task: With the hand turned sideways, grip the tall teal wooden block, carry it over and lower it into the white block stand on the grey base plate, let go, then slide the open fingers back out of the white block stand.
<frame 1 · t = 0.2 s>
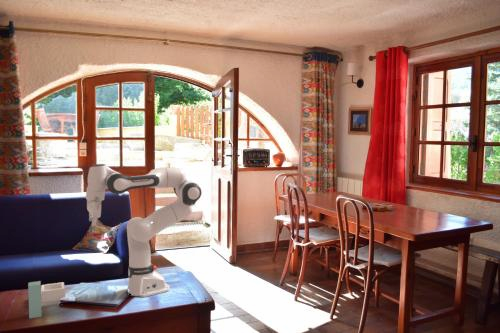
hand: (92, 222, 212), 39 cm above the table, tool pointing down, fingers open, 8 cm apart
white block stand: (53, 299, 213), on the table
teal block: (35, 315, 193), on the table
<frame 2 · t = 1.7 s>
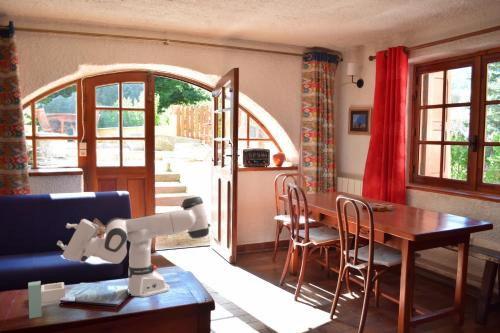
hand: (62, 233, 190), 38 cm above the table, tool pointing upward, fingers open, 8 cm apart
nothing on the table moved.
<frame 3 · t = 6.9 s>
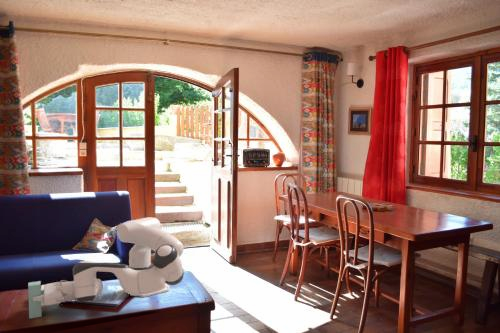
hand: (32, 296, 192), 9 cm above the table, tool horizontal, fingers closed on teal block, 5 cm apart
teal block: (35, 315, 193), on the table, touching gripper
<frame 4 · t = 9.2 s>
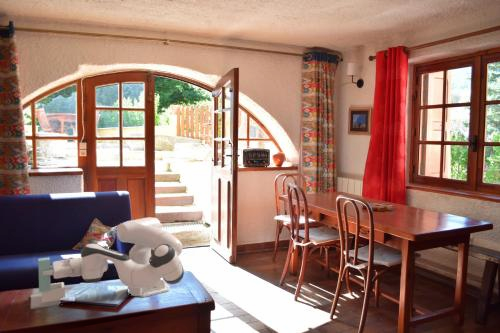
hand: (42, 271, 204), 17 cm above the table, tool horizontal, fingers closed on teal block, 5 cm apart
teal block: (44, 289, 205), point 8 cm above the table, touching gripper
when the fingers open (11 cm above the table, at t = 11.7 s): teal block drops 1 cm, resting on white block stand.
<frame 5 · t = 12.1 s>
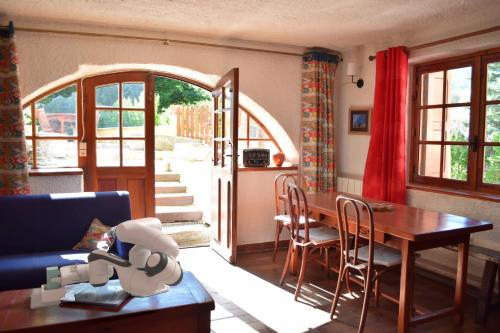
hand: (50, 277, 211), 11 cm above the table, tool horizontal, fingers open, 8 cm apart
teal block: (53, 297, 212), point 1 cm above the table, touching white block stand
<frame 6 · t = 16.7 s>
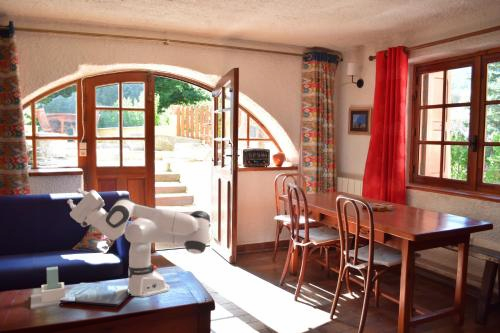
hand: (73, 194, 200), 54 cm above the table, tool pointing upward, fingers open, 8 cm apart
nothing on the table moved.
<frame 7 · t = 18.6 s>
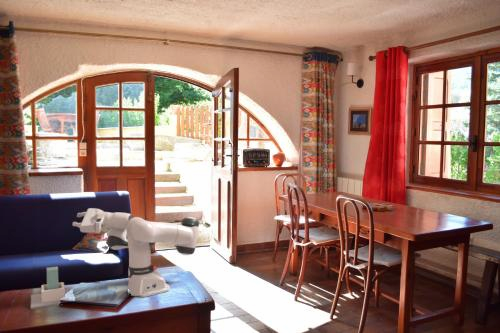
hand: (75, 219, 227), 38 cm above the table, tool horizontal, fingers open, 8 cm apart
nothing on the table moved.
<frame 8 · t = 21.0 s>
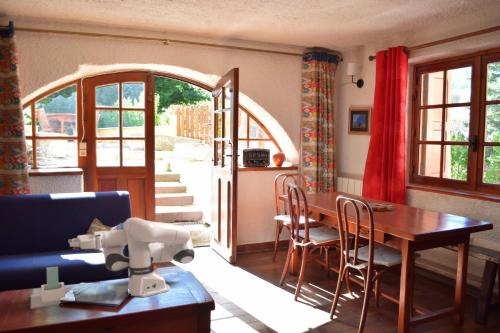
hand: (69, 243, 215), 28 cm above the table, tool horizontal, fingers open, 8 cm apart
nothing on the table moved.
at the end: teal block 0.1 cm off-centre on the white block stand, point 1.0 cm above the white block stand's base; teal block tilted 0°; the gripper is holding nothing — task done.
